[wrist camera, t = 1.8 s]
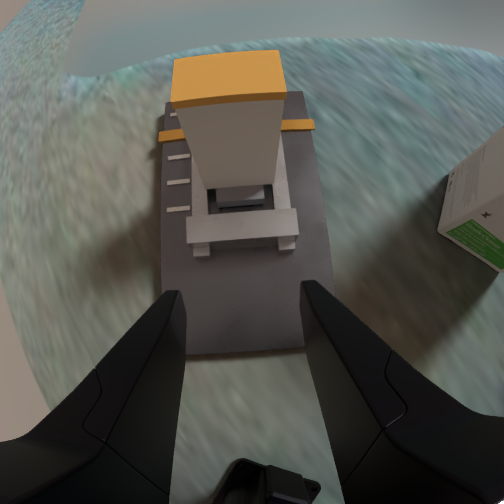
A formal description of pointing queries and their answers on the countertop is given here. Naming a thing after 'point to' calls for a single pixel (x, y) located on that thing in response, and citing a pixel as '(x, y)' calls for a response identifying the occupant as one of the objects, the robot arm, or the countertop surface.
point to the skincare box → (477, 203)
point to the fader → (232, 120)
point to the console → (244, 244)
